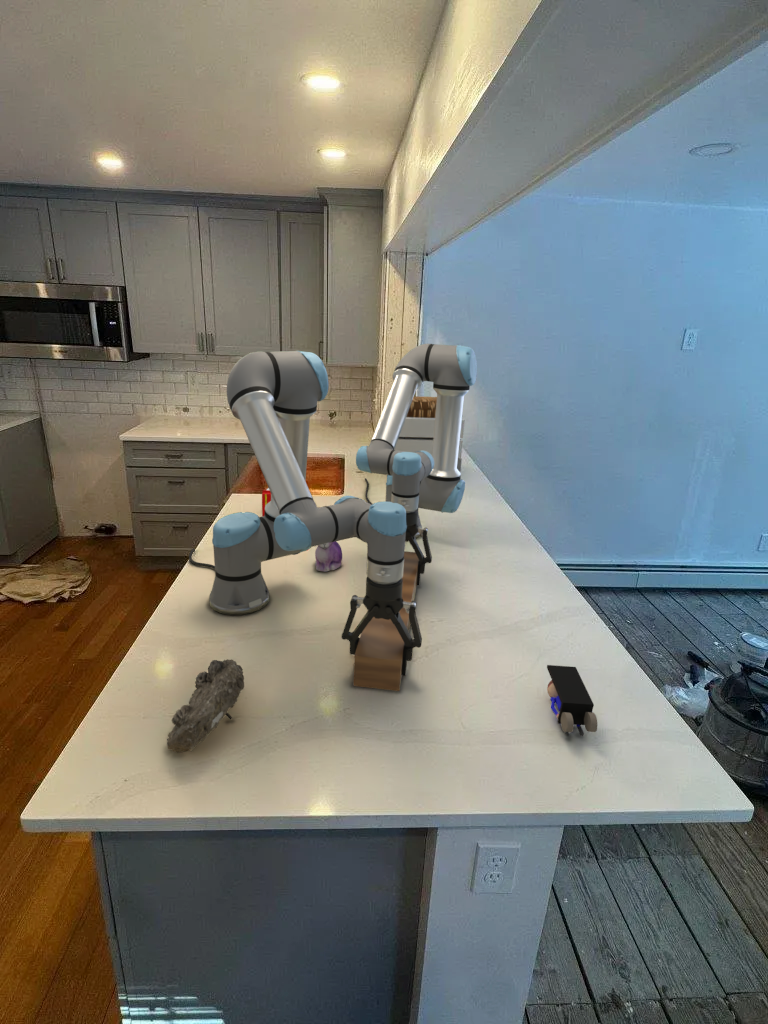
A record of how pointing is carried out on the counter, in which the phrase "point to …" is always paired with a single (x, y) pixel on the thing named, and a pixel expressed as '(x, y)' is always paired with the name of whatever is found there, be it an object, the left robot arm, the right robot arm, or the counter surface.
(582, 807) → the counter surface
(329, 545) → the figurine
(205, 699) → the fossil
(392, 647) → the slab
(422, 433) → the light grey slatted crate
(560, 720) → the figurine character
